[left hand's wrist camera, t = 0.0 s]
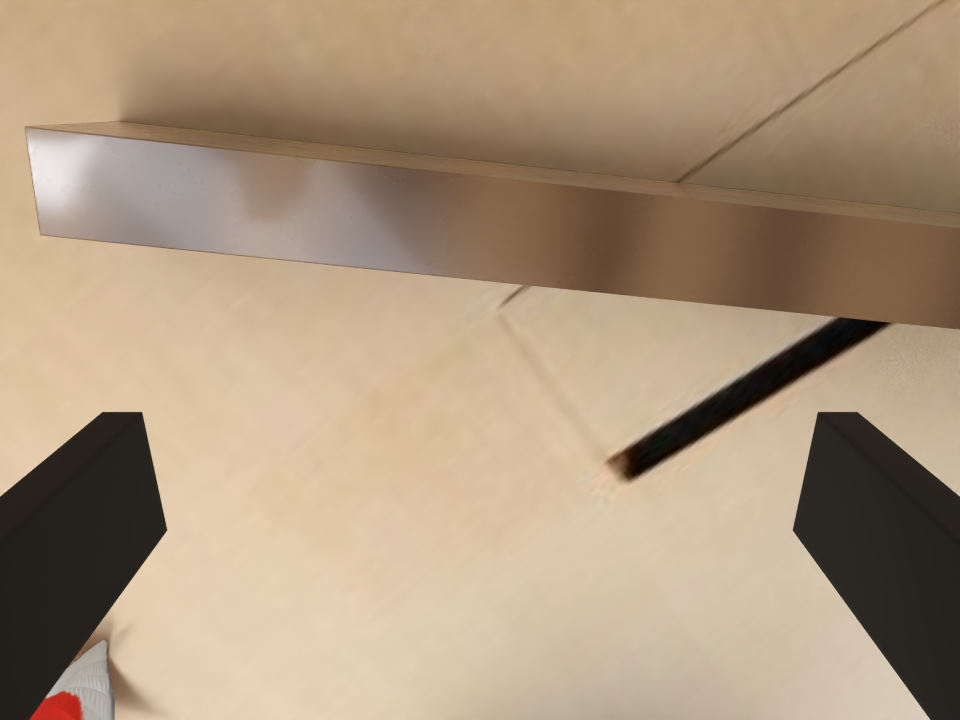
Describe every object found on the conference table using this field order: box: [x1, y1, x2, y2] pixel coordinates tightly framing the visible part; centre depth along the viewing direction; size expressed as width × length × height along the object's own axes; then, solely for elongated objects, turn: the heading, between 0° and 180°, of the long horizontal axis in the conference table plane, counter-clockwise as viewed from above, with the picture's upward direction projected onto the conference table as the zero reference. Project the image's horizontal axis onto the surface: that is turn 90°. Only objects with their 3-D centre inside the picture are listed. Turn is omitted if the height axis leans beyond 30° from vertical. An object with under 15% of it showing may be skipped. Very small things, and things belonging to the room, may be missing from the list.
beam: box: [25, 121, 960, 329], centre depth 35 cm, size 71×5×8 cm, turn 84°
